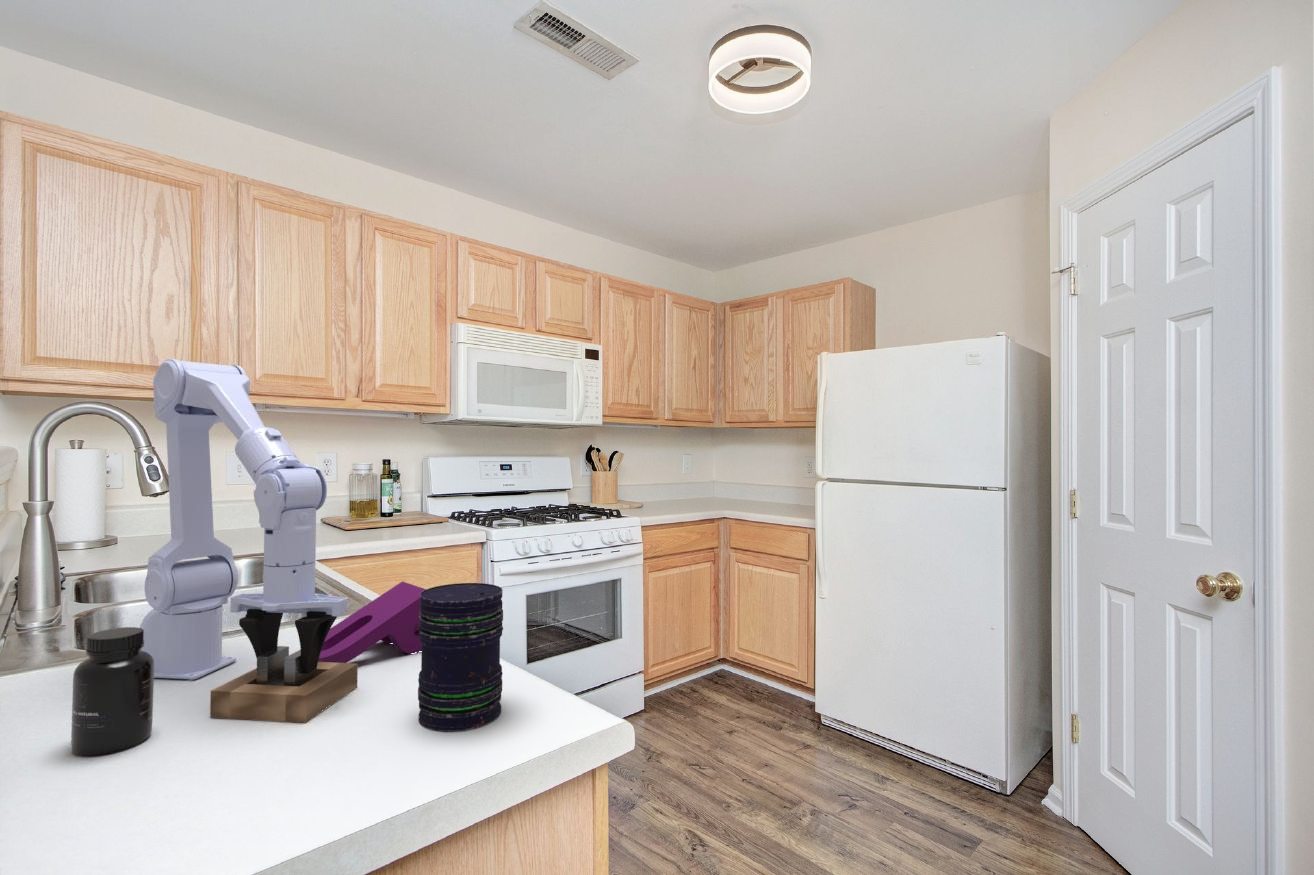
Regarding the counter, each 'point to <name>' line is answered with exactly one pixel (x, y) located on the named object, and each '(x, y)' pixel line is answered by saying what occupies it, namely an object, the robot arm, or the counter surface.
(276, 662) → the bracket
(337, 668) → the well block
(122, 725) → the supplement bottle
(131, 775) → the counter surface
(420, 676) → the dark blue ribbed cylinder
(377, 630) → the mounting bracket
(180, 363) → the robot arm
